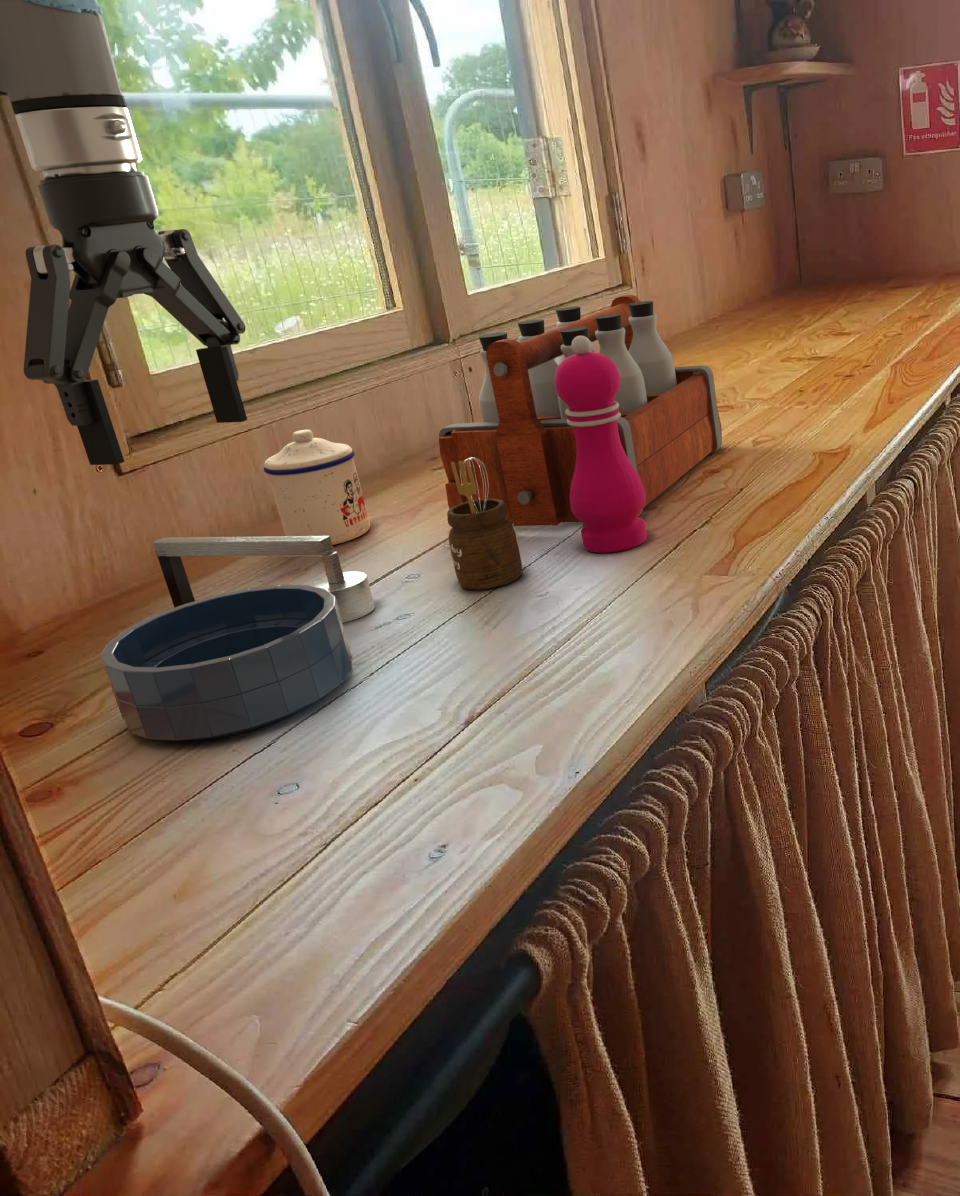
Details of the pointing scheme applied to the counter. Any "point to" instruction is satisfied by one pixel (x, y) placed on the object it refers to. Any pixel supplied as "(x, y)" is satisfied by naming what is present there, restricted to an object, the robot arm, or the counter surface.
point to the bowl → (228, 662)
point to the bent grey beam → (343, 585)
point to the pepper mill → (599, 453)
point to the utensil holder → (481, 538)
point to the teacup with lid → (317, 489)
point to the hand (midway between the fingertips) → (173, 441)
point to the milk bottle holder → (539, 423)
